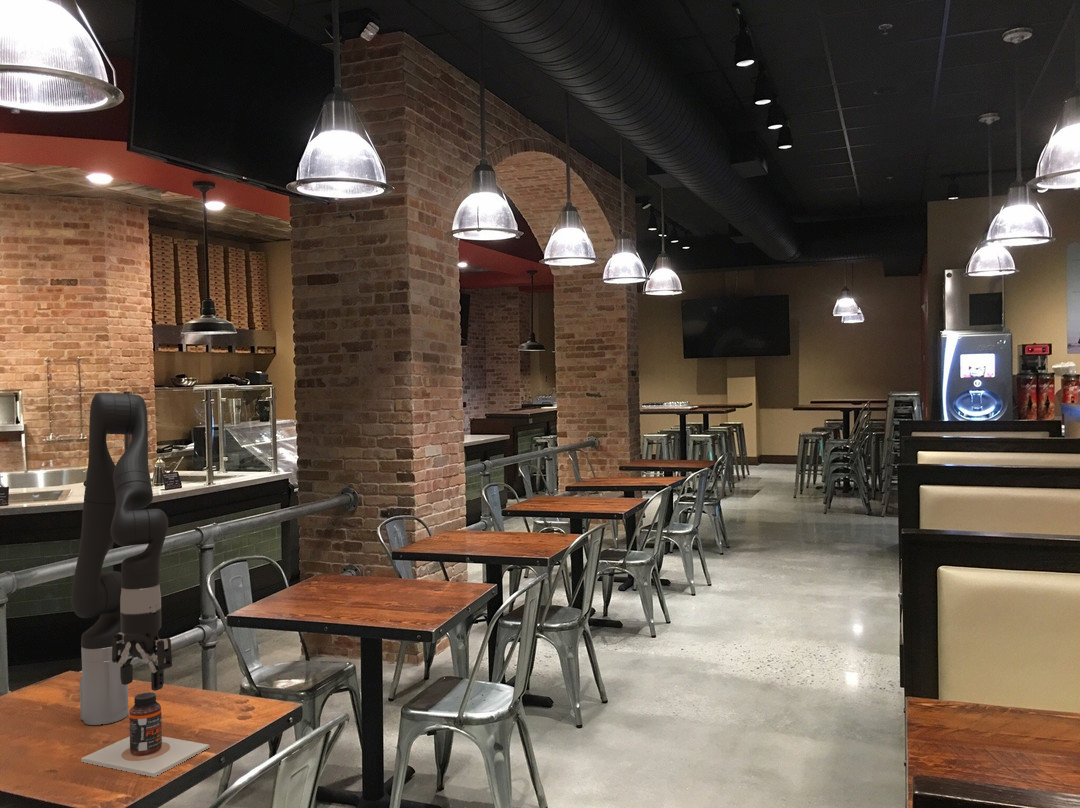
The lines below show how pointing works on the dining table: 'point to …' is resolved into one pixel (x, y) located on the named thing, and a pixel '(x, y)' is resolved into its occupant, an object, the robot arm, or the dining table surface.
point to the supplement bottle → (145, 725)
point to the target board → (145, 756)
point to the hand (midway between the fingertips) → (142, 686)
